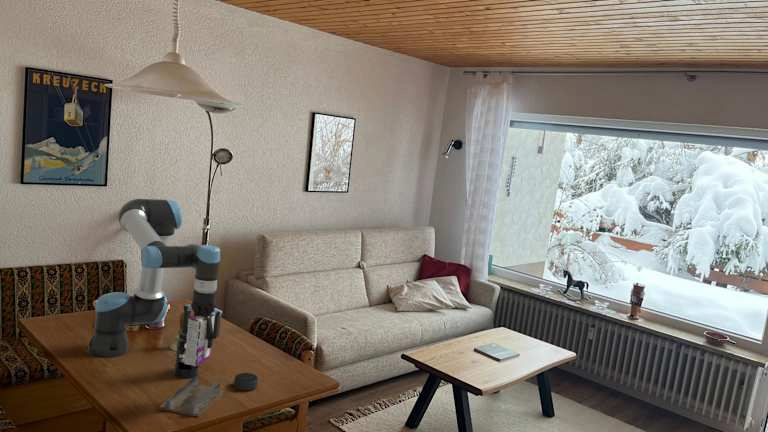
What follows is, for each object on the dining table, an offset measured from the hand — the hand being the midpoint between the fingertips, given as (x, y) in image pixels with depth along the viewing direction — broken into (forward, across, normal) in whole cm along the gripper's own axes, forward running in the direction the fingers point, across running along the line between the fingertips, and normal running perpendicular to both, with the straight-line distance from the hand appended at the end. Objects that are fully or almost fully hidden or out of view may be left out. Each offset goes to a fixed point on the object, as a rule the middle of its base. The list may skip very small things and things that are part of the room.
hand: (198, 354), depth 204 cm
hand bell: (+17, -27, +43) cm, 54 cm away
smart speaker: (+17, +12, +19) cm, 28 cm away
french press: (+17, -13, +20) cm, 29 cm away
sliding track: (+17, 0, 0) cm, 17 cm away
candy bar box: (+2, 0, 0) cm, 2 cm away
